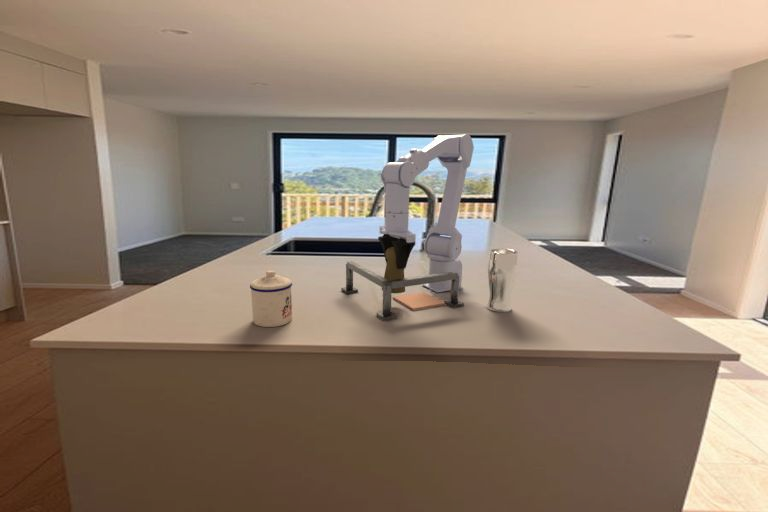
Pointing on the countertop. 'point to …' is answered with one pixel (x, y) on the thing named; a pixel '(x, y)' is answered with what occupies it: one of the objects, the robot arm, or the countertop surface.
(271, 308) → the teacup with lid
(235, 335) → the countertop surface
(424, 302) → the mat
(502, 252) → the beer glass
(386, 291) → the bent rail
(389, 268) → the cork
